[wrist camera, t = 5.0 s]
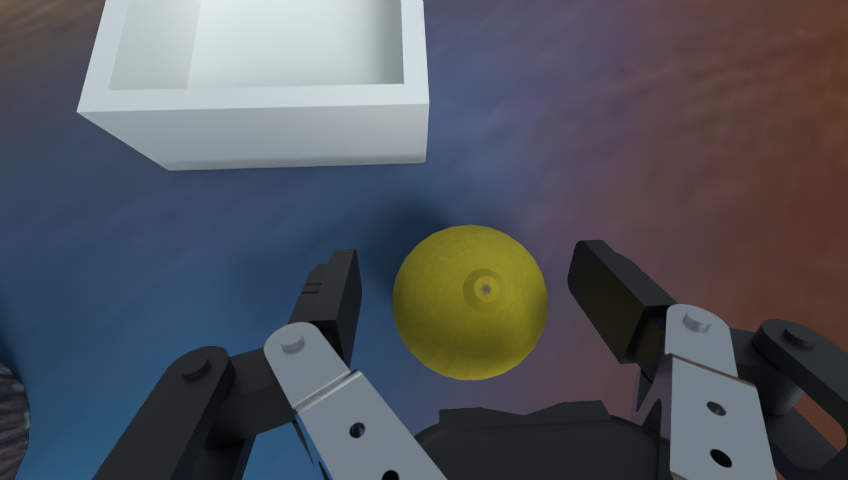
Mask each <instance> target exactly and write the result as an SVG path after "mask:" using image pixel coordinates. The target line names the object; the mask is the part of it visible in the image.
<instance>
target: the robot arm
mask: <svg viewBox="0 0 848 480" xmlns="http://www.w3.org/2000/svg"><path fill="white" fill-rule="evenodd" d="M568 287H569V290H570V292H571V294H572V295H573V296H574V298H575V299H576V301H577V302H578V304H579V305H580V307H581V308H582V309H583V311H584V312H585V314H586V315H587V317H588V318H589V320H590V321H591V322H592V324H593V325H594V327H595V328H596V330H597V331H598V333H599V334H600V335H601V337H602V338H603V340H604V341H605V343H606V344H607V346H608V347H609V348H610V350H611V351H612V353H613V354H614V356H615V357H616V359H617V360H618V361H619V363H620V364H627V363H638V365H639V366H640V368H639V370H638V372H637V375H636V383H635V390H634V397H633V405H632V412H631V419H630V421H629V420H626V419H624V418H620V417H617V416H614V415H609V413H608V412H607V410H606V408H605V406H604V404H603V403H602V401H601V400H598V401H580V402H563V403H559V404H557V405H554V406H551V407H548V408H545V409H542V410H540V411H537V412H534V413H531V414H528V415H518V414H512V413H507V412H502V411H496V410H491V409H486V408H480V407H478V408H461V409H444V410H439V423H438V424H435V425H433V426H430V427H428V428H426V429H424V430H422V431H421V432H419V433H418V434H417V435H415V436H414V437H413V436H412V435H411V434H410V432H409V431H408V430H407V429H406V427H405V426H404V425H403V424H402V422H401V421H400V420H399V419H398V417H397V416H396V415H395V414H394V412H393V411H392V410H391V409H390V407H389V406H388V405H387V404H386V402H385V401H384V400H383V399H382V397H381V396H380V395H379V394H378V392H377V391H376V390H375V389H374V387H373V386H372V385H371V384H370V382H369V381H368V380H367V379H366V377H365V376H364V375H363V374H362V373H361V372H360V371H359V370H354V371H353V372H351V371H350V370H349V368H350V362H351V357H352V351H353V345H354V340H355V334H356V328H357V322H358V317H359V311H360V305H361V298H362V287H361V279H360V272H359V264H358V257H357V252H356V250H355V249H346V250H334V251H333V254H332V257H331V259H330V262H329V264H319V265H318V266H317V267H316V268H315V269H314V270H313V271H312V272H311V273H310V274H309V276H308V278H307V280H306V283H305V286H304V287H303V290H302V294H300V297H299V299H298V301H297V304H296V306H295V308H294V311H293V313H292V315H291V318H290V320H289V322H288V325H286V326H284V327H282V328H280V329H278V330H277V331H275V332H274V333H273V334H272V335H271V336H270V337H269V338H268V339H267V341H266V343H265V345H264V347H261V348H259V349H256V350H253V351H249V352H246V353H243V354H239V355H236V356H232V357H229V355H228V353H227V351H226V350H225V349H223V348H221V347H218V346H207V347H202V348H198V349H196V350H193V351H191V352H189V353H187V354H185V355H183V356H182V357H180V358H179V359H177V360H176V361H175V362H174V363H173V364H172V365H171V366H170V367H169V368H168V369H167V370H166V371H165V373H164V374H163V376H162V377H161V379H160V380H159V382H158V383H157V385H156V386H155V388H154V389H153V391H152V392H151V393H150V395H149V396H148V398H147V399H146V401H145V402H144V404H143V405H142V407H141V408H140V410H139V411H138V413H137V414H136V416H135V417H134V419H133V420H132V421H131V423H130V424H129V426H128V427H127V429H126V430H125V432H124V433H123V435H122V436H121V438H120V439H119V441H118V442H117V444H116V445H115V446H114V448H113V449H112V451H111V452H110V454H109V455H108V457H107V458H106V460H105V461H104V463H103V464H102V466H101V467H100V469H99V470H98V472H97V473H96V474H95V476H94V477H93V479H92V480H242V477H243V474H244V471H245V468H246V465H247V462H248V459H249V456H250V453H251V450H252V447H253V444H254V441H255V438H256V435H257V434H260V433H262V432H265V431H268V430H270V429H273V428H276V427H278V426H281V425H284V424H287V423H289V422H291V424H292V426H293V428H294V430H295V432H296V434H297V436H298V438H299V440H300V442H301V444H302V446H303V448H304V450H305V452H306V454H307V456H308V458H309V460H310V462H311V464H312V466H313V468H314V470H315V473H316V475H317V477H318V479H319V480H777V478H776V474H775V469H774V467H775V468H776V469H777V470H778V471H779V473H780V474H781V475H782V476H783V477H784V478H785V480H848V354H847V353H846V352H845V351H843V350H842V349H840V348H839V347H838V346H836V345H835V344H833V343H832V342H831V341H829V340H828V339H826V338H825V337H823V336H822V335H820V334H819V333H817V332H815V331H813V330H811V329H809V328H807V327H804V326H802V325H799V324H796V323H793V322H790V321H785V320H780V319H769V320H765V321H764V322H763V323H762V324H761V326H760V327H759V329H758V330H757V332H751V331H745V330H739V329H733V328H728V326H727V325H726V324H725V323H724V322H723V321H722V320H721V319H720V318H718V317H717V316H716V315H714V314H712V313H710V312H708V311H706V310H704V309H701V308H698V307H695V306H691V305H686V304H678V303H677V302H676V301H675V300H674V299H673V298H672V297H671V296H669V295H668V294H667V293H666V292H665V291H664V290H663V289H662V288H661V287H660V286H659V285H657V284H656V283H655V282H654V281H653V280H652V279H650V277H649V276H648V275H647V274H646V273H644V272H642V271H641V269H640V268H639V267H638V266H637V265H636V264H635V263H634V262H632V261H631V260H629V259H628V258H626V257H624V256H622V255H620V254H618V253H616V252H614V251H613V250H612V249H611V248H610V247H609V246H608V245H607V244H606V243H605V242H604V241H602V240H586V241H579V242H577V244H576V246H575V250H574V254H573V258H572V261H571V265H570V269H569V273H568ZM805 393H806V394H807V395H808V396H809V397H811V398H812V399H813V400H814V401H815V402H816V403H817V404H818V405H819V406H821V407H822V408H823V409H824V410H825V411H826V412H827V413H828V414H829V415H831V416H832V417H833V418H834V419H835V420H836V421H837V422H838V423H839V424H840V425H841V426H842V428H843V429H844V431H845V433H846V436H847V444H846V446H845V447H844V448H843V449H842V450H841V451H840V452H839V451H838V450H837V449H836V448H835V447H834V446H832V445H831V444H830V443H829V442H828V441H827V440H826V439H825V438H824V437H823V436H822V435H821V434H820V433H819V432H818V431H817V430H816V429H815V428H814V427H813V426H812V425H811V424H810V423H809V422H808V421H807V420H806V419H805V418H804V417H803V416H802V415H801V414H800V413H798V412H797V411H796V410H795V409H794V408H793V406H794V405H795V404H796V403H797V402H798V400H799V399H800V398H801V397H802V396H803V395H804V394H805Z"/></svg>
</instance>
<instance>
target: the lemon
mask: <svg viewBox="0 0 848 480" xmlns="http://www.w3.org/2000/svg"><path fill="white" fill-rule="evenodd" d="M392 301H393V316H394V319H395V323H396V326H397V330H398V333H399V335H400V336H401V338H402V340H403V341H404V343H405V345H406V347H407V348H408V350H409V351H410V352H411V353H412V354H413V355H414V356H415V357H416V358H417V359H418V360H419V361H420V362H421V363H422V364H423V365H425V366H427V367H428V368H430V369H432V370H433V371H435V372H437V373H438V374H441V375H444V376H448V377H452V378H455V379H459V380H482V379H486V378H490V377H493V376H497V375H501V374H503V373H505V372H506V371H508V370H509V369H511V368H513V367H514V366H516V365H518V364H519V363H521V362H522V360H523V359H524V358H525V357H526V356H527V355H528V354H529V353H530V352H531V351H532V350H533V349H534V347H535V345H536V343H537V342H538V340H539V338H540V336H541V334H542V332H543V330H544V326H545V322H546V317H547V313H548V300H547V289H546V286H545V282H544V279H543V275H542V272H541V271H540V269H539V267H538V265H537V263H536V262H535V260H534V258H533V257H532V256H531V255H530V254H529V252H528V251H527V250H526V249H525V248H524V247H523V246H522V245H521V244H520V243H519V242H517V241H516V240H514V239H513V238H511V237H510V236H508V235H507V234H505V233H503V232H500V231H498V230H495V229H493V228H490V227H485V226H477V225H463V226H454V227H450V228H447V229H444V230H441V231H439V232H436V233H433V234H432V235H430V236H429V237H428V238H426V239H425V240H423V241H422V242H420V243H419V244H418V245H417V246H416V247H415V248H414V249H413V250H412V251H411V253H410V254H409V255H408V256H407V257H406V258H405V260H404V262H403V264H402V266H401V268H400V270H399V272H398V274H397V276H396V280H395V284H394V289H393V294H392Z"/></svg>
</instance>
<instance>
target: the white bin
mask: <svg viewBox="0 0 848 480" xmlns="http://www.w3.org/2000/svg"><path fill="white" fill-rule="evenodd" d="M77 113H79V114H80V115H82V116H84V117H85V118H87V119H88V120H90V121H91V122H93V123H95V124H96V125H98V126H99V127H101V128H103V129H104V130H106V131H107V132H109V133H110V134H112V135H114V136H115V137H117V138H118V139H120V140H121V141H123V142H125V143H126V144H128V145H129V146H131V147H132V148H134V149H136V150H137V151H139V152H140V153H142V154H143V155H145V156H147V157H148V158H150V159H151V160H153V161H155V162H156V163H158V164H159V165H161V166H162V167H164V168H166V169H167V170H169V171H178V170H210V169H242V168H275V167H307V166H340V165H372V164H405V163H425V162H426V146H427V130H428V114H429V93H428V77H427V60H426V44H425V27H424V11H423V0H106V3H105V7H104V10H103V14H102V18H101V22H100V26H99V29H98V33H97V37H96V41H95V45H94V48H93V52H92V56H91V60H90V64H89V67H88V71H87V75H86V79H85V83H84V86H83V90H82V94H81V98H80V102H79V105H78V109H77Z"/></svg>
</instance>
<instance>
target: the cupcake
mask: <svg viewBox="0 0 848 480" xmlns="http://www.w3.org/2000/svg"><path fill="white" fill-rule="evenodd" d="M30 425H31V423H30V408H29V403H28V400H27V397H26V394H25V389H24V384H22V383H21V382H20V381H18V380H17V379H16V378H15V376H14V375H13V373H12V371H11V370H10V369H9V368H8V367H7V366H6V365H5V364H3V363H1V362H0V480H14V478H15V476H16V473H17V471H18V468H19V466H20V463H21V461H22V459H23V457H24V455H25V453H26V451H27V446H28V441H29V429H30Z"/></svg>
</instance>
